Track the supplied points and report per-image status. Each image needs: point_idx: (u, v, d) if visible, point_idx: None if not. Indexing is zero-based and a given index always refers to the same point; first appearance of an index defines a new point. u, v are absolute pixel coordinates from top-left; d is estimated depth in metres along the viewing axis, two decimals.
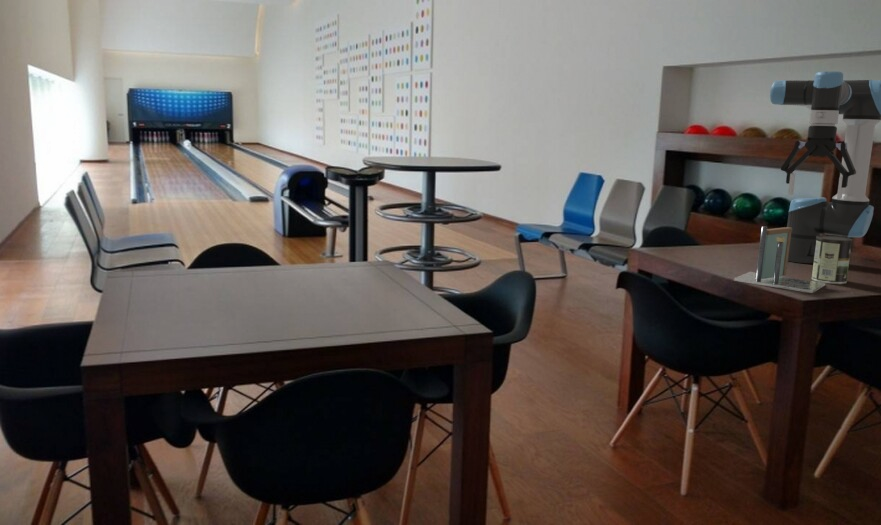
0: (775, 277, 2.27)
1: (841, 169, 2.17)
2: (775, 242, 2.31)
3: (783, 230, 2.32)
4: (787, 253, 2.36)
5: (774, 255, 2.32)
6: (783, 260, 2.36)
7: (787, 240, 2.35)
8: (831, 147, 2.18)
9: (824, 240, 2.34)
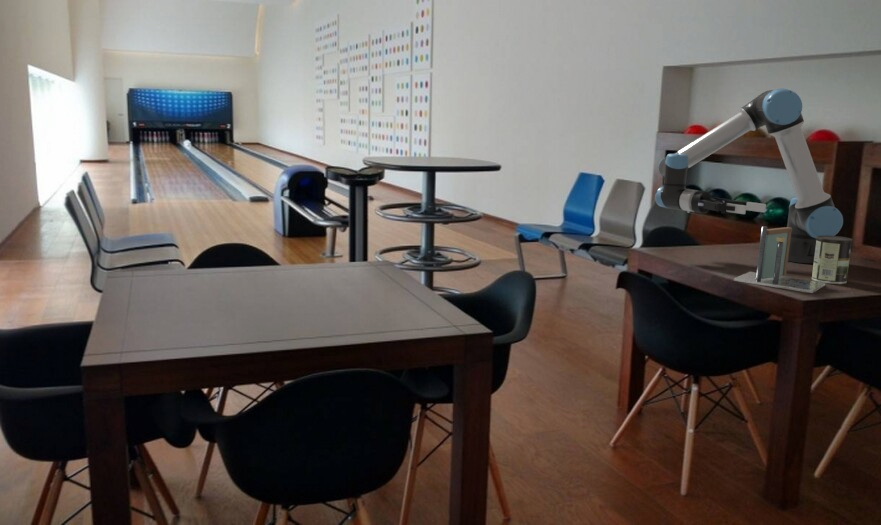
0: (775, 277, 2.27)
1: (720, 210, 2.42)
2: (775, 242, 2.31)
3: (783, 230, 2.32)
4: (787, 253, 2.36)
5: (774, 255, 2.32)
6: (783, 260, 2.36)
7: (787, 240, 2.35)
8: None
9: (824, 240, 2.34)
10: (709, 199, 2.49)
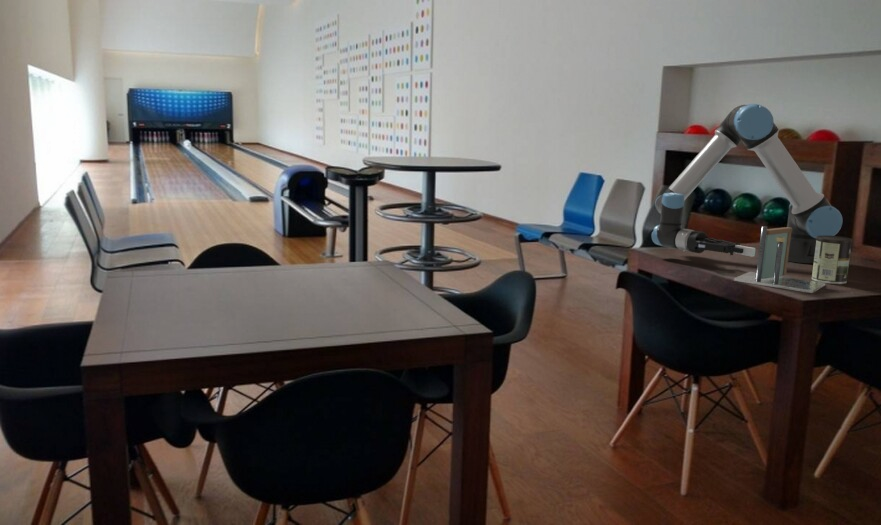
0: (775, 277, 2.27)
1: None
2: (775, 242, 2.31)
3: (783, 230, 2.32)
4: (787, 253, 2.36)
5: (774, 255, 2.32)
6: (783, 260, 2.36)
7: (787, 240, 2.35)
8: None
9: (824, 240, 2.34)
10: (705, 240, 2.52)
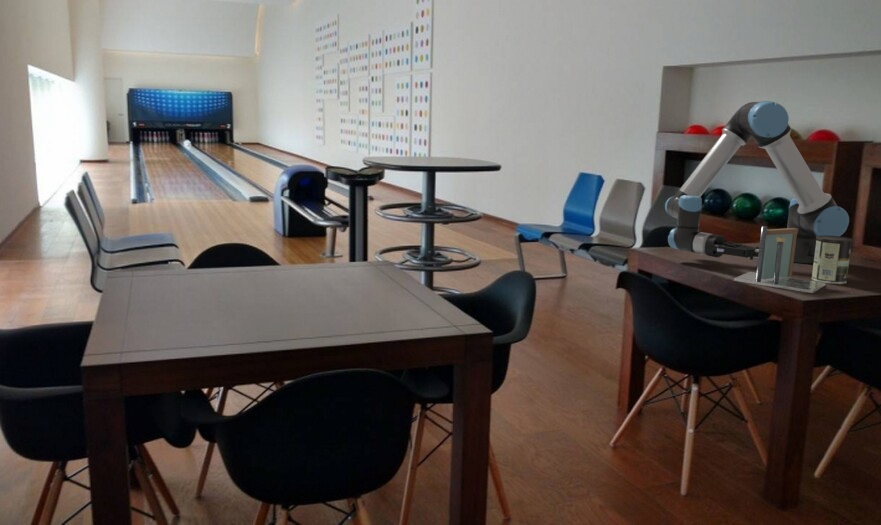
0: (775, 277, 2.27)
1: None
2: (777, 242, 2.31)
3: (787, 231, 2.31)
4: (792, 254, 2.34)
5: None
6: (788, 261, 2.34)
7: (792, 241, 2.33)
8: None
9: (824, 240, 2.34)
10: (724, 244, 2.46)
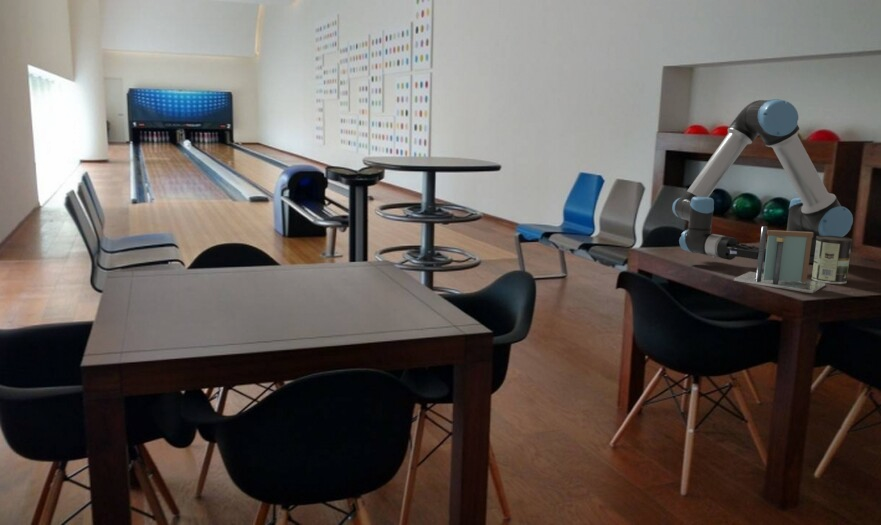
0: (775, 277, 2.27)
1: None
2: (783, 244, 2.27)
3: (796, 233, 2.26)
4: (806, 259, 2.27)
5: (783, 258, 2.28)
6: (801, 265, 2.28)
7: (806, 245, 2.26)
8: None
9: (824, 240, 2.34)
10: (737, 246, 2.42)
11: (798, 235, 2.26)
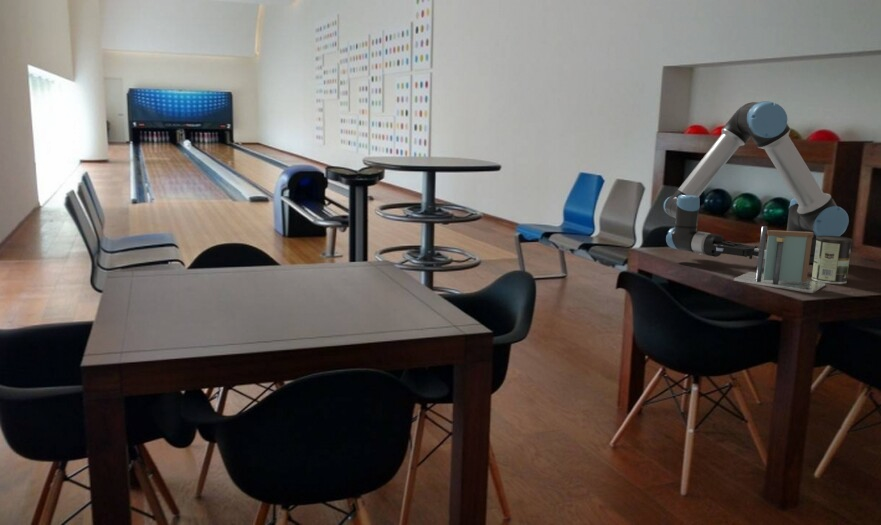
0: (775, 277, 2.27)
1: None
2: (783, 244, 2.27)
3: (796, 233, 2.26)
4: (807, 259, 2.27)
5: (783, 258, 2.28)
6: (801, 265, 2.28)
7: (806, 245, 2.26)
8: None
9: (824, 240, 2.34)
10: (723, 243, 2.46)
11: (798, 235, 2.26)
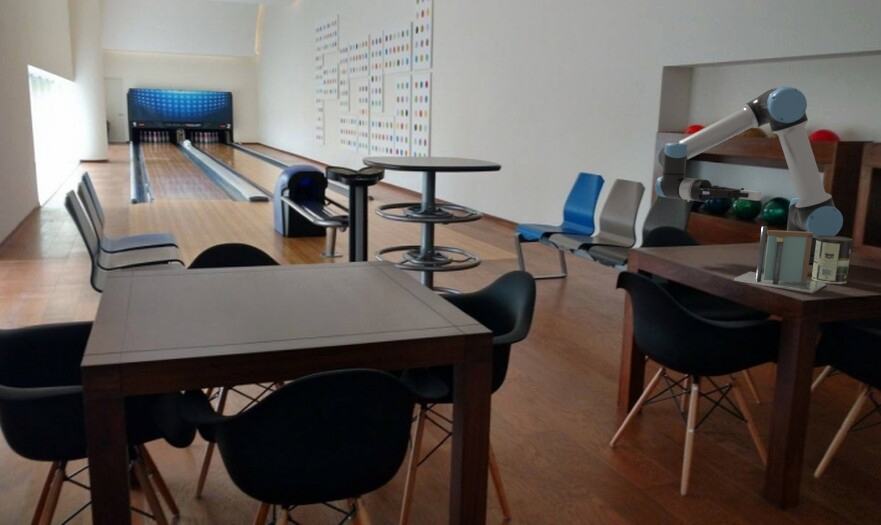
0: (775, 277, 2.27)
1: None
2: (783, 244, 2.27)
3: (796, 233, 2.26)
4: (807, 259, 2.27)
5: (783, 258, 2.28)
6: (801, 265, 2.28)
7: (806, 245, 2.26)
8: None
9: (824, 240, 2.34)
10: (710, 187, 2.48)
11: (798, 235, 2.26)
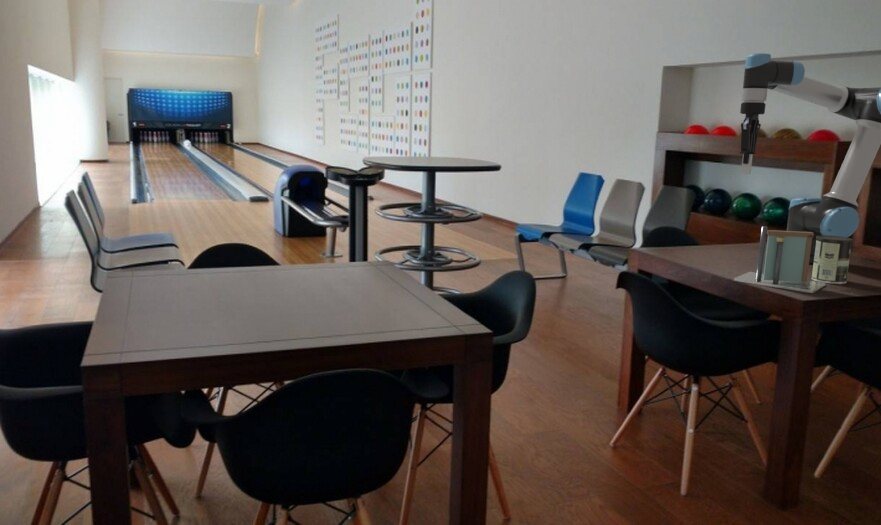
0: (775, 277, 2.27)
1: None
2: (783, 244, 2.27)
3: (796, 233, 2.26)
4: (807, 259, 2.27)
5: (783, 258, 2.28)
6: (801, 265, 2.28)
7: (806, 245, 2.26)
8: None
9: (824, 240, 2.34)
10: (753, 122, 2.44)
11: (798, 235, 2.26)
